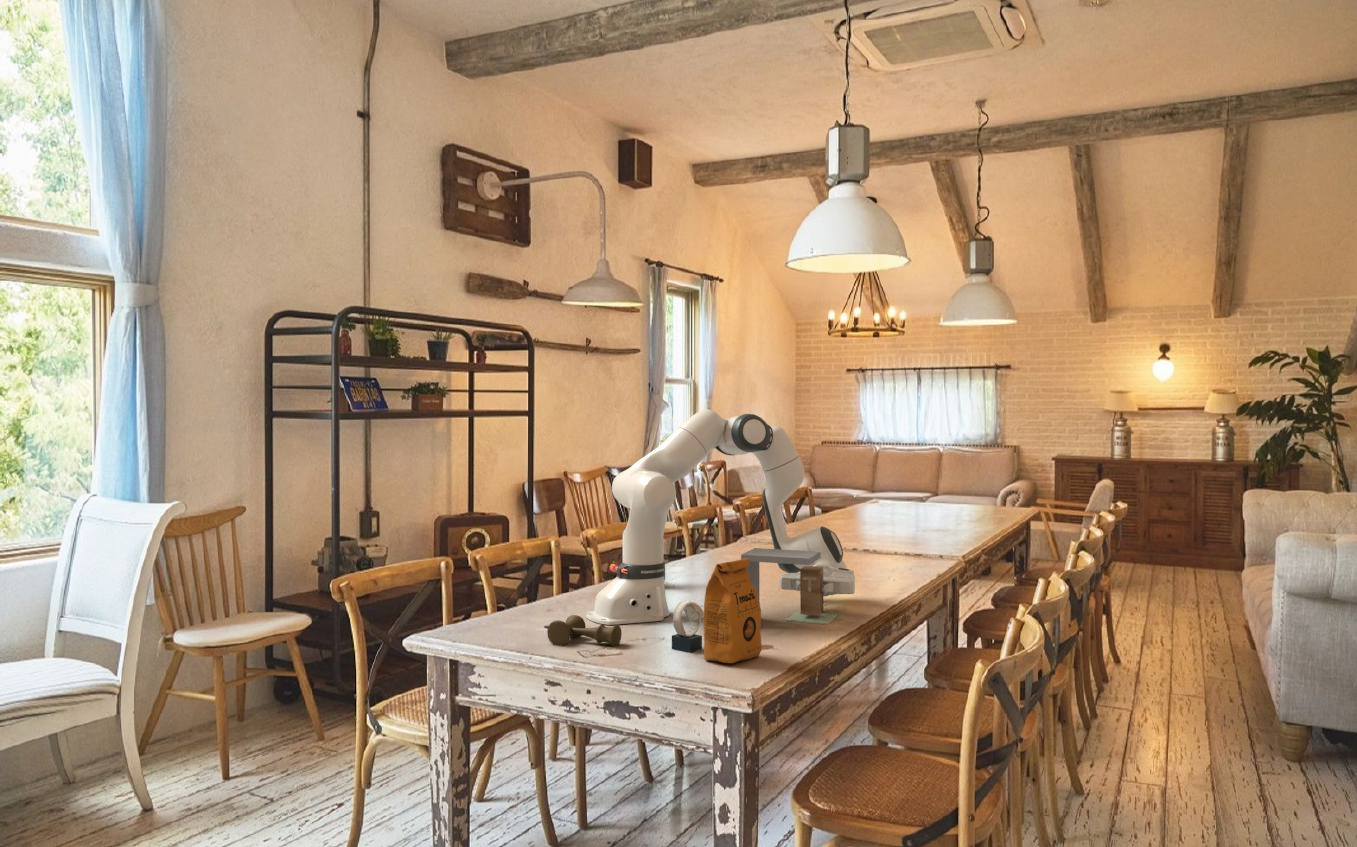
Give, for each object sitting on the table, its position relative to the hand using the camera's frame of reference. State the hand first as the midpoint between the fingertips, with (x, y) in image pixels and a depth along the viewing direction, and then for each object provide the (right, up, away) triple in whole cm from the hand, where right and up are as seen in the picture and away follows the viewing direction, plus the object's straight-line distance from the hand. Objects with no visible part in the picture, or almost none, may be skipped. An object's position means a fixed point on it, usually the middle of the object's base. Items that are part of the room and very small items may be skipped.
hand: (811, 588), depth 249 cm
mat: (0, -8, +1) cm, 8 cm away
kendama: (-58, -9, -24) cm, 64 cm away
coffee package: (-23, -9, -39) cm, 47 cm away
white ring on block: (-33, -9, -30) cm, 46 cm away
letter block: (0, -7, +1) cm, 7 cm away
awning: (-9, -8, -7) cm, 14 cm away
